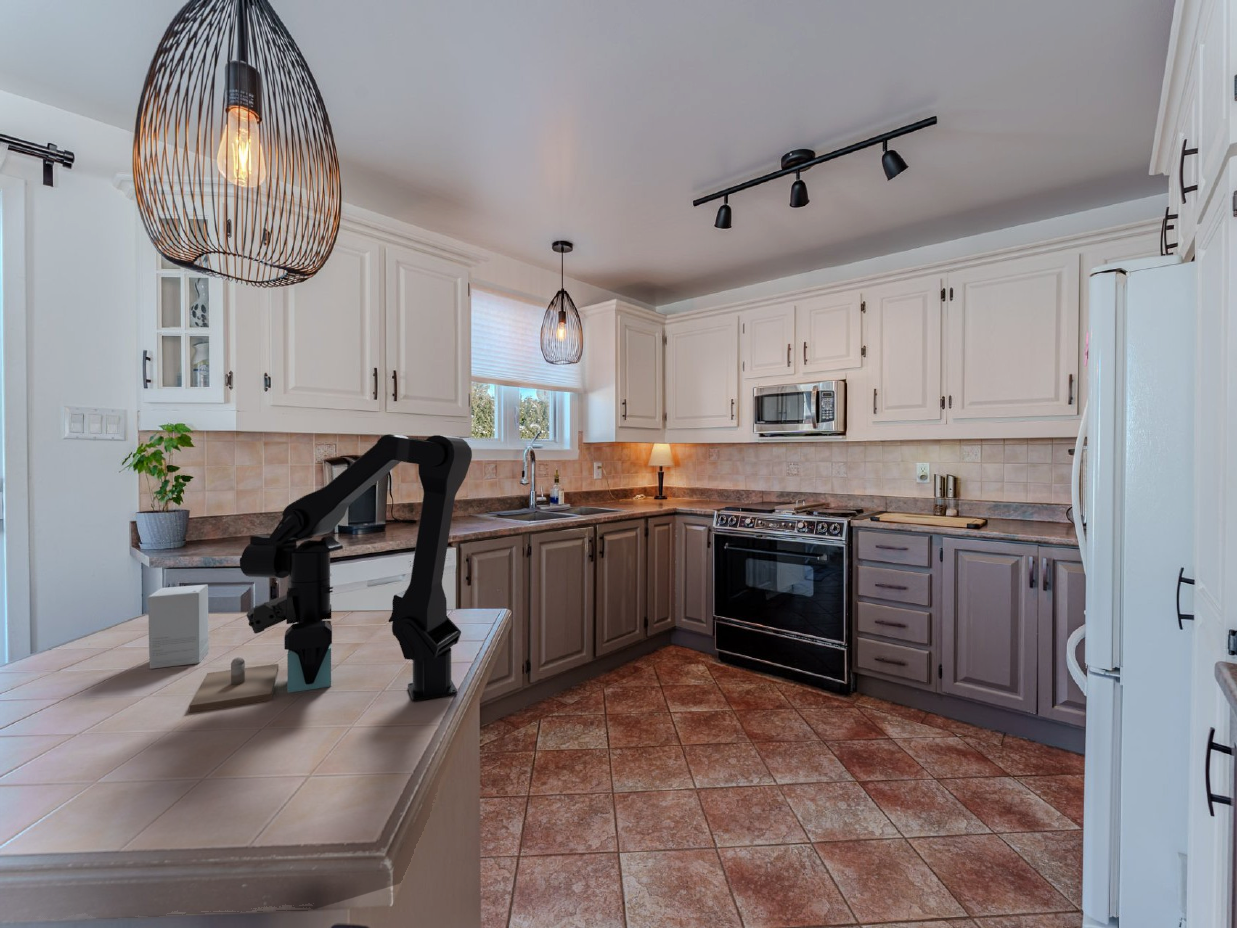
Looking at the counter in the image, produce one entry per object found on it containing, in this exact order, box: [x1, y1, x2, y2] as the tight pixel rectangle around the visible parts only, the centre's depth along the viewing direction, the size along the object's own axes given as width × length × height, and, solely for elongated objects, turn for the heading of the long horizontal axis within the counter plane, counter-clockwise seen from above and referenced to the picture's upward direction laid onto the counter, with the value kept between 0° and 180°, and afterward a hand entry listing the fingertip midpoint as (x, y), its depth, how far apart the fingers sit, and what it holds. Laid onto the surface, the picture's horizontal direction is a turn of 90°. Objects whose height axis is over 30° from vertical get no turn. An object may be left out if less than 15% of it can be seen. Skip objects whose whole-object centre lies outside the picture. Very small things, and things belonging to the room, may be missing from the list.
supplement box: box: [147, 584, 210, 670], centre depth 104 cm, size 7×7×13 cm
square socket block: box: [286, 644, 332, 694], centre depth 94 cm, size 6×6×6 cm
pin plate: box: [188, 657, 279, 713], centre depth 91 cm, size 14×10×5 cm
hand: (310, 676), depth 94 cm, fingers open, 7 cm apart
